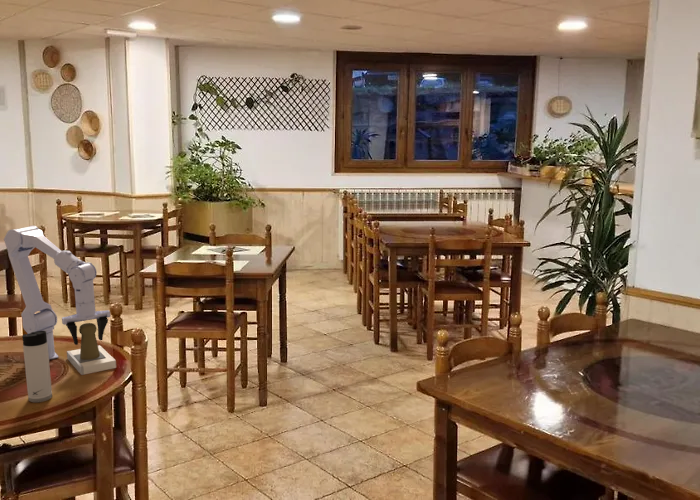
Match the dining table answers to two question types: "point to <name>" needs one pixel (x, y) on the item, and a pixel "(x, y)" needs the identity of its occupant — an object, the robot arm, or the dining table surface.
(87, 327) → the cork
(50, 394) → the travel mug
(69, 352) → the dock board
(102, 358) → the mat
